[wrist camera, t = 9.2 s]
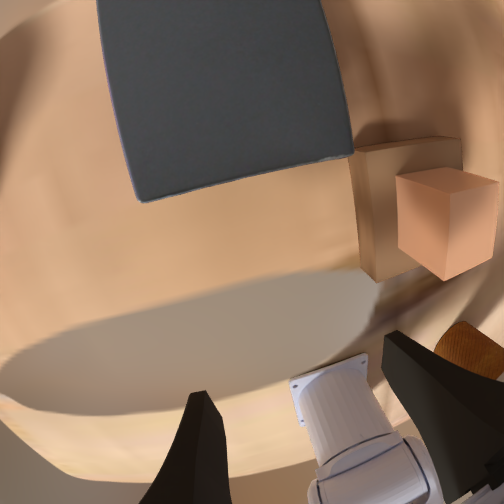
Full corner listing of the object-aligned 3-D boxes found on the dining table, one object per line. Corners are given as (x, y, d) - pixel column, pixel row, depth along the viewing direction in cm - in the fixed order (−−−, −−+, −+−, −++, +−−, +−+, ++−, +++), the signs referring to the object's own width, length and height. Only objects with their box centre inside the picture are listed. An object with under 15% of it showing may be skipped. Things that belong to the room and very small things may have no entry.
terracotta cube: (446, 231, 18) (491, 257, 13) (398, 247, 18) (443, 281, 13) (446, 166, 16) (499, 182, 11) (395, 175, 16) (450, 193, 11)
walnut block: (439, 235, 22) (461, 248, 19) (357, 265, 21) (376, 283, 19) (435, 135, 18) (460, 138, 15) (343, 149, 18) (365, 152, 15)
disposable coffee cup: (484, 300, 26) (543, 354, 15) (462, 355, 30) (508, 408, 19) (434, 322, 25) (500, 394, 14) (414, 379, 29) (459, 446, 18)
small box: (141, 18, 12) (84, -72, 2) (243, -4, 12) (280, -108, 3) (175, 168, 16) (127, 213, 7) (280, 142, 17) (368, 157, 7)
